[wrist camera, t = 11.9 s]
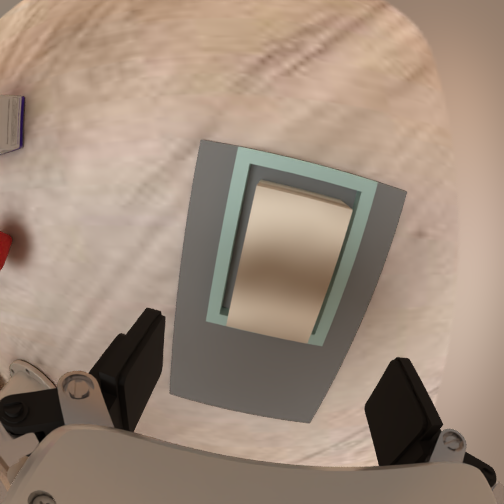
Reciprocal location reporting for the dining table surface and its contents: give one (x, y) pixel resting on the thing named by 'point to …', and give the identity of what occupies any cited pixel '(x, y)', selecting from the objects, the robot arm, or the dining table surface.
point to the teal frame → (348, 249)
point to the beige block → (287, 261)
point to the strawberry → (4, 247)
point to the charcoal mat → (199, 288)
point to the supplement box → (11, 122)
